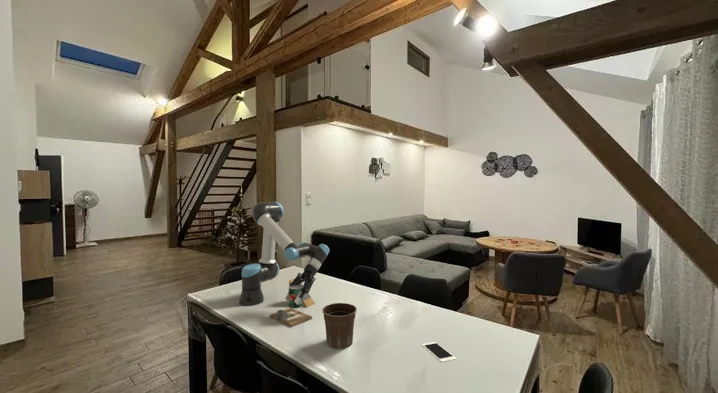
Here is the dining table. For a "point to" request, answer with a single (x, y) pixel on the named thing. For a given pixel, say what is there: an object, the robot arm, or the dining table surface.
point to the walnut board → (290, 317)
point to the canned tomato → (295, 296)
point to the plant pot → (339, 324)
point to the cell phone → (439, 352)
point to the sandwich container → (305, 298)
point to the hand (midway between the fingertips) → (291, 301)
